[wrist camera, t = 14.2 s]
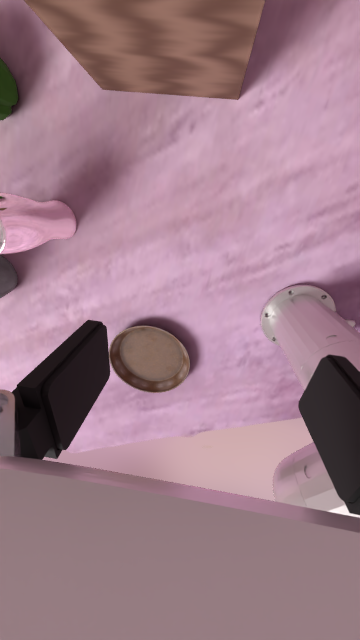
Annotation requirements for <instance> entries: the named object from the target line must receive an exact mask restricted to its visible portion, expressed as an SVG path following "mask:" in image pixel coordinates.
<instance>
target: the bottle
mask: <svg viewBox="0 0 360 640" xmlns="http://www.w3.org/2000/svg"><path fill="white" fill-rule="evenodd" d="M17 279H18V278H17V274H16V271H15V269H14V268H13V266H12V265H11V264H10V262H9V261H8V260H7V259H5V258H4V257H3V256H1V255H0V298H1V297H3V296H5V295H6V294H8V293H9V292H11V291H12V290H13V289H14V288H15V287H16V285H17Z"/></svg>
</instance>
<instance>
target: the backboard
mask: <svg viewBox="0 0 360 640" xmlns="http://www.w3.org/2000/svg"><path fill="white" fill-rule="evenodd" d="M24 1H25V2H26V3H27V4H28V6H29V7H30V8H31V9H32V10H33V11H34V12H35V14H36V15H37V16H38V17H39V18H40V19H41V20H42V21H43V23H44V24H45V25H46V26H47V27H48V28H49V29H50V31H51V32H52V33H53V34H54V35H55V36H56V37H57V38H58V40H59V41H60V42H61V43H62V44H63V45H64V46H65V48H66V49H67V50H68V51H69V52H70V53H71V54H72V55H73V57H74V58H75V59H76V60H77V61H78V62H79V63H80V64H81V66H82V67H83V68H84V69H85V70H86V71H87V72H88V74H89V75H90V76H91V77H92V78H93V79H94V80H95V81H96V83H97V84H98V85H99V86H100V87H101V88H102V89H103V90H115V91H129V92H142V93H155V94H169V95H182V96H196V97H209V98H222V99H236V100H238V98H239V95H240V91H241V87H242V84H243V80H244V76H245V73H246V69H247V65H248V62H249V58H250V54H251V51H252V47H253V43H254V40H255V36H256V32H257V29H258V25H259V21H260V18H261V14H262V10H263V7H264V3H265V0H24Z"/></svg>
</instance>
